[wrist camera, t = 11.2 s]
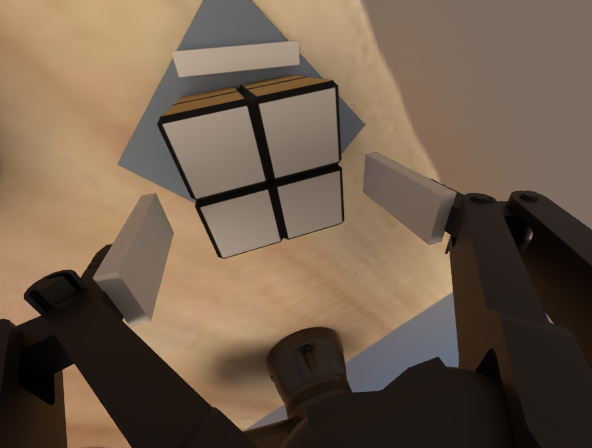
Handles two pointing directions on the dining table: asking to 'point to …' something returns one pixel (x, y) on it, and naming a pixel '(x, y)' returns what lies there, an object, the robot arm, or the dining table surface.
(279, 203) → the puzzle cube
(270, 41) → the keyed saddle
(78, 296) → the robot arm
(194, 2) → the dining table surface
